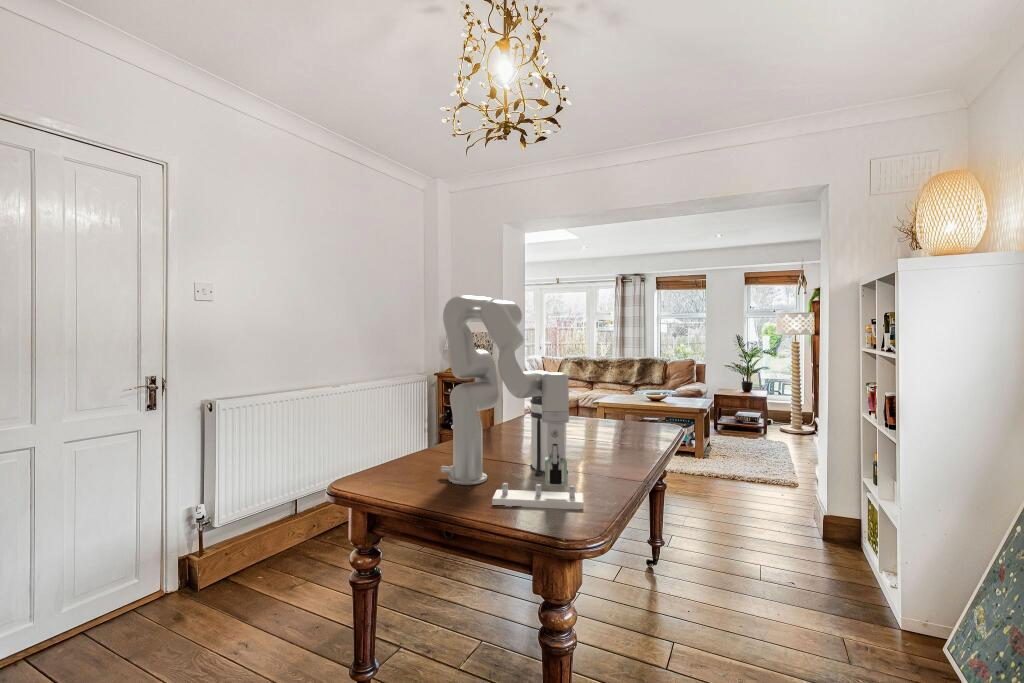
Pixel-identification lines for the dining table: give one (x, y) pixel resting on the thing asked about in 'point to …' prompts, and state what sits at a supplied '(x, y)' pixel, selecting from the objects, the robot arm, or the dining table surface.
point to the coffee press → (538, 436)
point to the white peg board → (538, 498)
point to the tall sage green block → (563, 471)
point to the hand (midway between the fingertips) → (556, 480)
